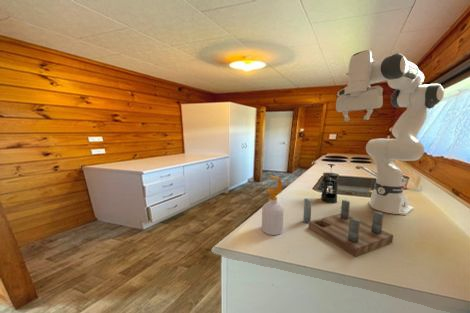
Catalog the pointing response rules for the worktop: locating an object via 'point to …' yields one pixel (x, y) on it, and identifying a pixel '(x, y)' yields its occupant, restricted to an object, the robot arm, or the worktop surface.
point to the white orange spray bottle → (273, 212)
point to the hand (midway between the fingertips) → (356, 120)
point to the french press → (329, 194)
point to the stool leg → (307, 210)
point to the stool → (352, 231)
